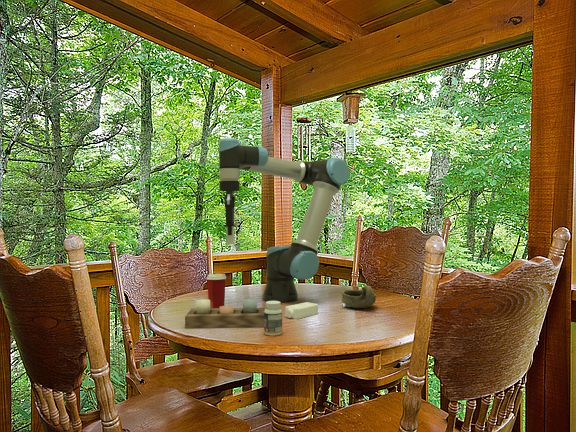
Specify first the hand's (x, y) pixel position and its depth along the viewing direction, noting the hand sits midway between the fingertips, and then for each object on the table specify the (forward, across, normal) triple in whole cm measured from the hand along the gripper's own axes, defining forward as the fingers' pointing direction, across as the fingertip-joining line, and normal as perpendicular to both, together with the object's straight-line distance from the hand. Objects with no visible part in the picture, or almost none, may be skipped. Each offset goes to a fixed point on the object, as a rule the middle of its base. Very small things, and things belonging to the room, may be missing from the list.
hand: (230, 243), depth 170 cm
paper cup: (+27, -6, -6) cm, 28 cm away
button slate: (+23, +14, +8) cm, 28 cm away
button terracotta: (+25, +14, 0) cm, 29 cm away
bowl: (+27, -7, +50) cm, 57 cm away
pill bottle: (+27, +28, +16) cm, 42 cm away
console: (+26, +14, 0) cm, 30 cm away
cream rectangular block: (+27, +4, +26) cm, 37 cm away
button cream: (+23, +14, -8) cm, 28 cm away
